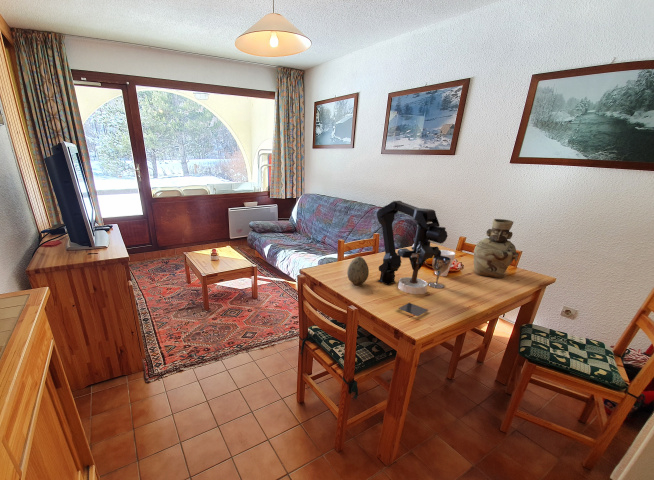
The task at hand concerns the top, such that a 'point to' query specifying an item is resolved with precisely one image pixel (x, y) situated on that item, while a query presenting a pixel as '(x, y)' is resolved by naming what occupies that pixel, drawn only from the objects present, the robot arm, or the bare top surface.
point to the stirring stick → (415, 274)
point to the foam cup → (451, 256)
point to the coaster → (413, 309)
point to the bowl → (412, 286)
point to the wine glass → (439, 268)
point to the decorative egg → (358, 271)
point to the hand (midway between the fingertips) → (415, 269)
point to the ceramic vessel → (495, 250)
